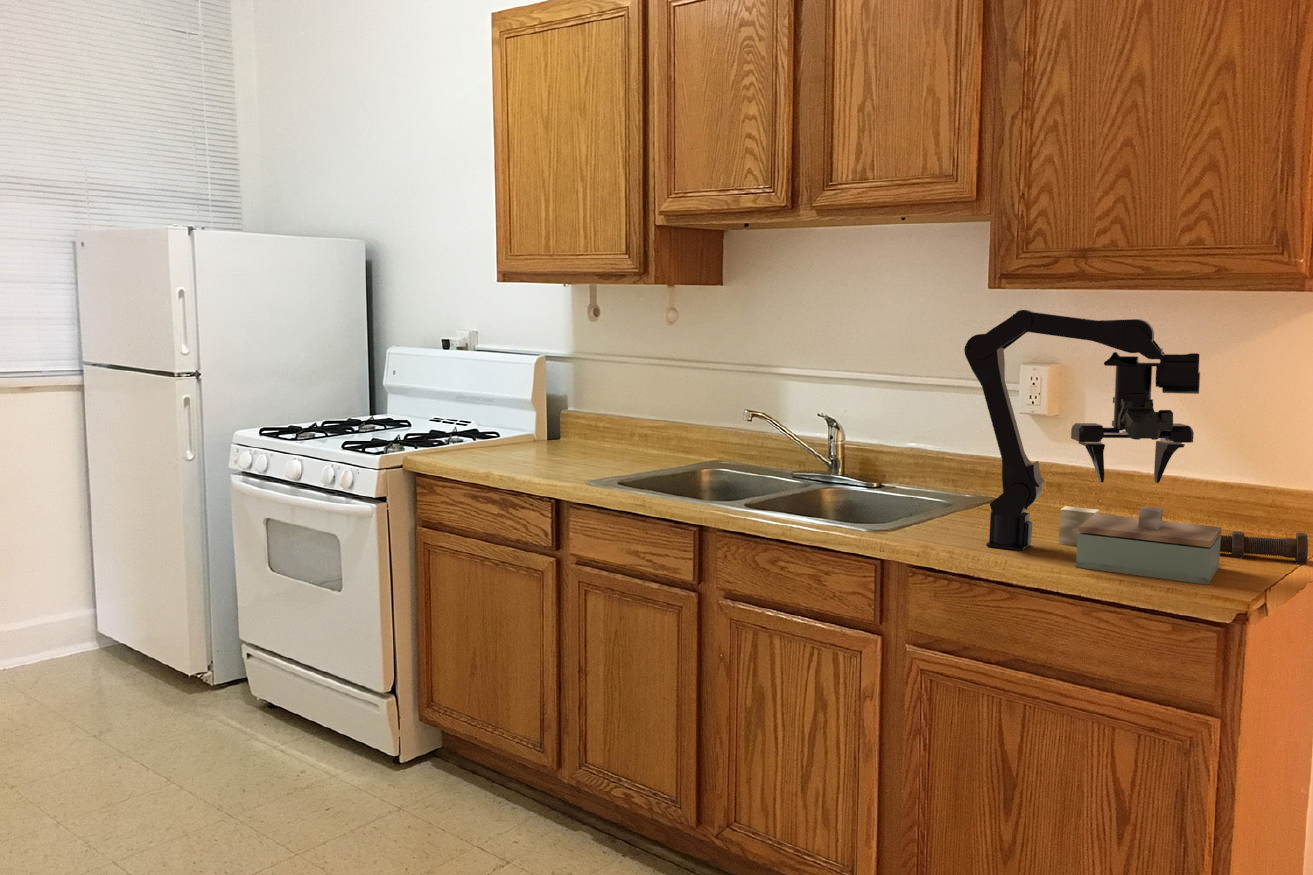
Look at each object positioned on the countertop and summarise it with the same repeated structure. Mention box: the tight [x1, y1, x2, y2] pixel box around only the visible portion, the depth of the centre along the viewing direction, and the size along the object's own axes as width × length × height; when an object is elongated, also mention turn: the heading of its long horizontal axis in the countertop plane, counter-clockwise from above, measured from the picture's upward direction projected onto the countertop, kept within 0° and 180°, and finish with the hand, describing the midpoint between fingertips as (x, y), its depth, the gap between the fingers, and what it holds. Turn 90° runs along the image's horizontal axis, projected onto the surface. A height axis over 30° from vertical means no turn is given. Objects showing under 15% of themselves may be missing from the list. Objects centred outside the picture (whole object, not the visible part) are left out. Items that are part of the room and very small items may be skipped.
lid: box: [1078, 505, 1223, 547], centre depth 182 cm, size 20×14×4 cm
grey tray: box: [1075, 532, 1222, 585], centre depth 185 cm, size 20×20×6 cm
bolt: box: [1220, 530, 1309, 565], centre depth 191 cm, size 6×5×15 cm
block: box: [1058, 506, 1100, 547], centre depth 201 cm, size 6×4×6 cm, turn 56°
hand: (1129, 482), depth 188 cm, fingers open, 9 cm apart
